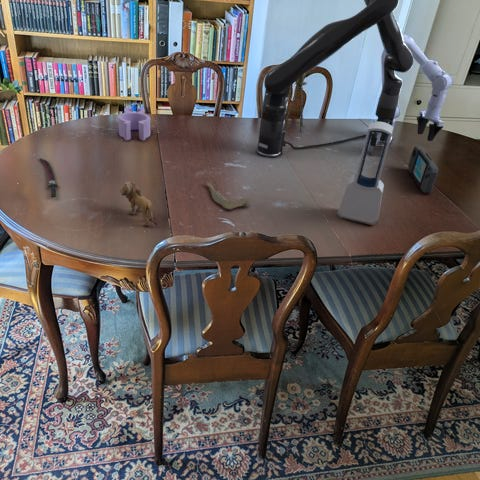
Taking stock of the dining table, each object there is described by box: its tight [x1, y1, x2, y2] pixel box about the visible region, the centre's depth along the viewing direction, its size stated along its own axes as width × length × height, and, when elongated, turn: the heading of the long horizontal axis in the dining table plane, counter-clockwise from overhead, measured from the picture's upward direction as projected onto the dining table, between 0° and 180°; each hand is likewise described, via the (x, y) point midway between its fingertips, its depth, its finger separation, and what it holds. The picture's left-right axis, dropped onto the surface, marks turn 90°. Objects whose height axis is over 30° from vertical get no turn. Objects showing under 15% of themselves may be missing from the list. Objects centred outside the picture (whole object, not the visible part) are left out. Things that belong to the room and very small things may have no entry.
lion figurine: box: [119, 181, 159, 227], centre depth 134 cm, size 15×5×9 cm, turn 50°
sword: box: [40, 158, 59, 198], centre depth 151 cm, size 31×3×1 cm, turn 26°
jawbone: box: [205, 181, 254, 211], centre depth 149 cm, size 9×20×2 cm, turn 50°
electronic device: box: [337, 121, 394, 226], centre depth 139 cm, size 12×8×30 cm, turn 71°
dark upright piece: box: [284, 73, 308, 132], centre depth 206 cm, size 9×8×30 cm
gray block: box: [367, 140, 384, 157], centre depth 195 cm, size 4×5×5 cm
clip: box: [117, 106, 151, 142], centre depth 190 cm, size 20×12×7 cm, turn 11°
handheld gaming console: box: [407, 145, 439, 195], centre depth 173 cm, size 23×3×10 cm, turn 178°
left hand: (377, 143), depth 194 cm, fingers open, 8 cm apart
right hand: (424, 137), depth 197 cm, fingers open, 7 cm apart
